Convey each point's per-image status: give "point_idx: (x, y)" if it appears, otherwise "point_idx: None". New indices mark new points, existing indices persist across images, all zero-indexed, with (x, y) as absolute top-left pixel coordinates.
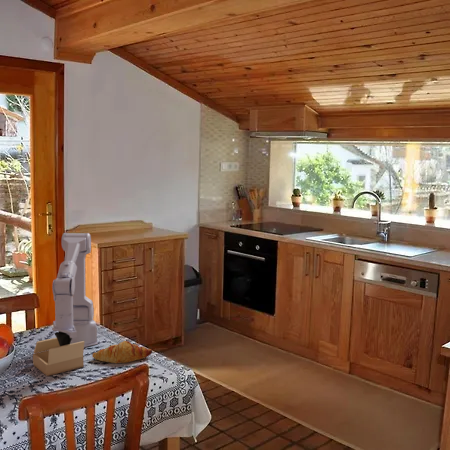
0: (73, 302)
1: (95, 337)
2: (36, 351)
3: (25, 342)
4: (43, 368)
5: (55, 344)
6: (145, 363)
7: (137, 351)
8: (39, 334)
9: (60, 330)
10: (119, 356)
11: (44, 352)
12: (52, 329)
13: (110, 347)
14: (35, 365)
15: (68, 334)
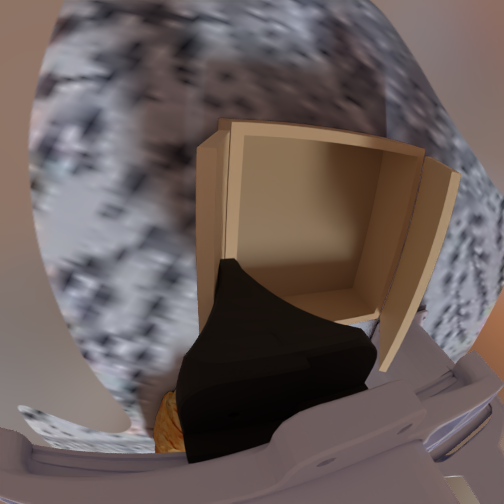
0: (488, 436)
1: (370, 388)
2: (426, 168)
3: (500, 217)
4: (276, 122)
5: (404, 274)
6: (130, 430)
7: (158, 452)
8: (497, 265)
9: (175, 489)
10: (163, 418)
11: (405, 204)
12: (387, 395)
13: None
14: (369, 134)
15: (117, 459)
